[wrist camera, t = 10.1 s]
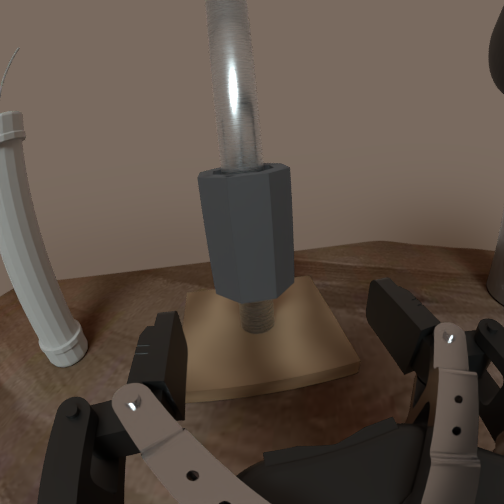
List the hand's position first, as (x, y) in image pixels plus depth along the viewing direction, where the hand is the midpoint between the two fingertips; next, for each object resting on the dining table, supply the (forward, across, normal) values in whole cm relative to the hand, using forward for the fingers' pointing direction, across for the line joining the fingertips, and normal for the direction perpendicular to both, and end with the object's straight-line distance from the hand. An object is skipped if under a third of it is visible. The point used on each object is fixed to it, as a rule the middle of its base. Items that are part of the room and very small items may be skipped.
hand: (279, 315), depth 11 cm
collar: (+11, 0, +5) cm, 12 cm away
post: (+11, 0, +11) cm, 15 cm away
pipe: (+10, +20, +11) cm, 25 cm away
